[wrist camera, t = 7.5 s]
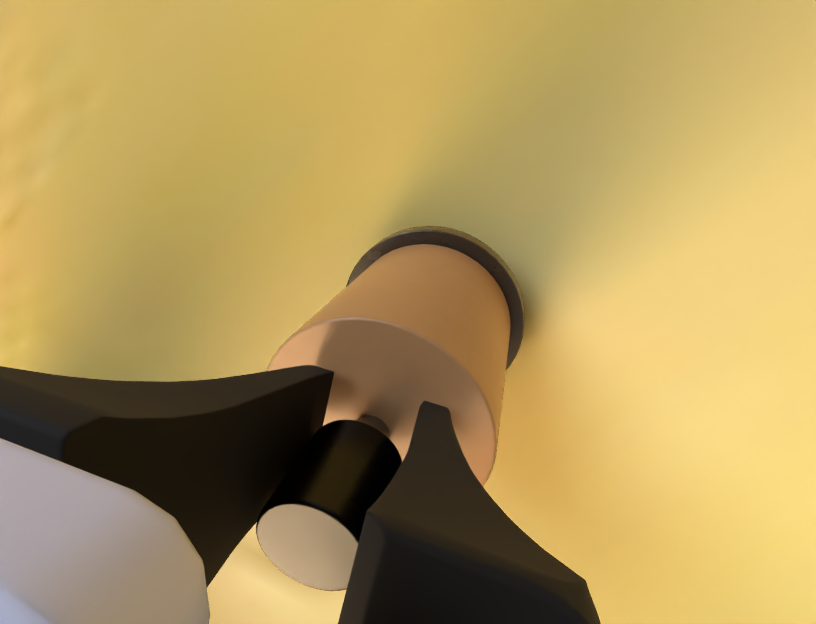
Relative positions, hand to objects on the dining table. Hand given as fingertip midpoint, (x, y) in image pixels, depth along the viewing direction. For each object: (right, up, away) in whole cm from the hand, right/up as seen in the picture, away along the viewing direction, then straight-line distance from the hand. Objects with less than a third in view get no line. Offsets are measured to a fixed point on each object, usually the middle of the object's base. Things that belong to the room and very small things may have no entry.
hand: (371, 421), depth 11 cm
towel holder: (+2, +3, +8) cm, 8 cm away
